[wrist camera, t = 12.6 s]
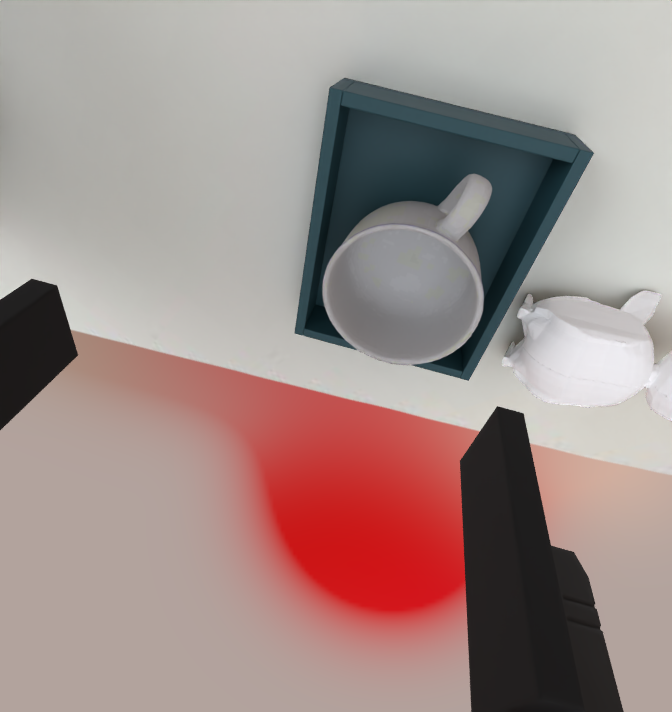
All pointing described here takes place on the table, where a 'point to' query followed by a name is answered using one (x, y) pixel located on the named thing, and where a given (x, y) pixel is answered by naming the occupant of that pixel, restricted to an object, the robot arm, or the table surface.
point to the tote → (436, 192)
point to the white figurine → (591, 353)
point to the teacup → (410, 278)
